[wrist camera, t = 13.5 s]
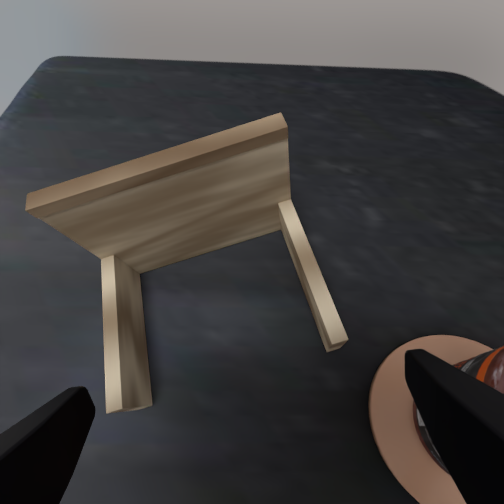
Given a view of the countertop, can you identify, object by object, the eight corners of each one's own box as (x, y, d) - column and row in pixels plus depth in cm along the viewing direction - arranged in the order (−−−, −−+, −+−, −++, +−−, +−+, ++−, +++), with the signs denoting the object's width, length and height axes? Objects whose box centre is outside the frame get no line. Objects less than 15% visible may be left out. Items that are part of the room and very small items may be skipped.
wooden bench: (340, 348, 21) (375, 311, 11) (139, 409, 21) (1, 426, 11) (288, 215, 26) (280, 112, 16) (127, 266, 26) (27, 193, 16)
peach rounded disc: (545, 572, 15) (560, 584, 14) (348, 465, 18) (350, 469, 17) (558, 377, 18) (571, 376, 17) (390, 314, 21) (394, 311, 20)
